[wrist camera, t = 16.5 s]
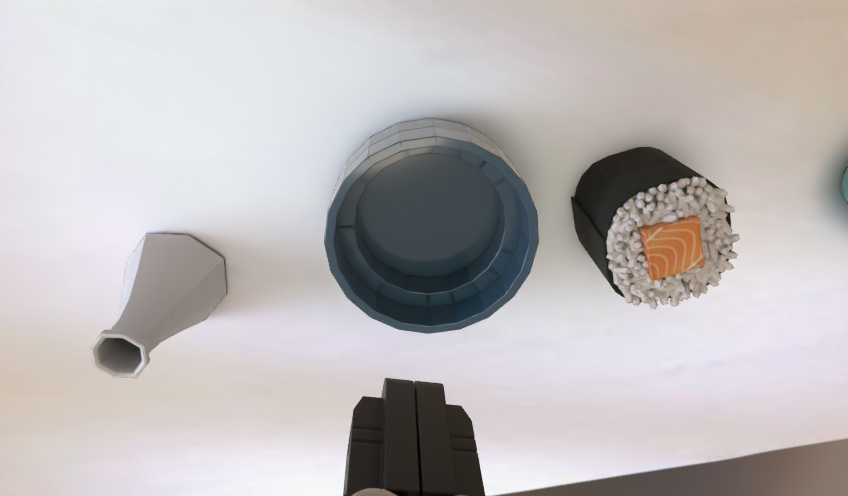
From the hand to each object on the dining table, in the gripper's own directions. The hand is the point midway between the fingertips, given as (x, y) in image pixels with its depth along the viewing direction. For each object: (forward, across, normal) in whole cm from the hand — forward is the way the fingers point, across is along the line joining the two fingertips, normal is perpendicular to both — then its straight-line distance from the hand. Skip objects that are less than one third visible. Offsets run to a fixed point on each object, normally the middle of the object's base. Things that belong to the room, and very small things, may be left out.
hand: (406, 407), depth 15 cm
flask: (+27, +14, +12) cm, 33 cm away
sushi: (+26, -17, +2) cm, 31 cm away
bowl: (+26, -3, +4) cm, 27 cm away
